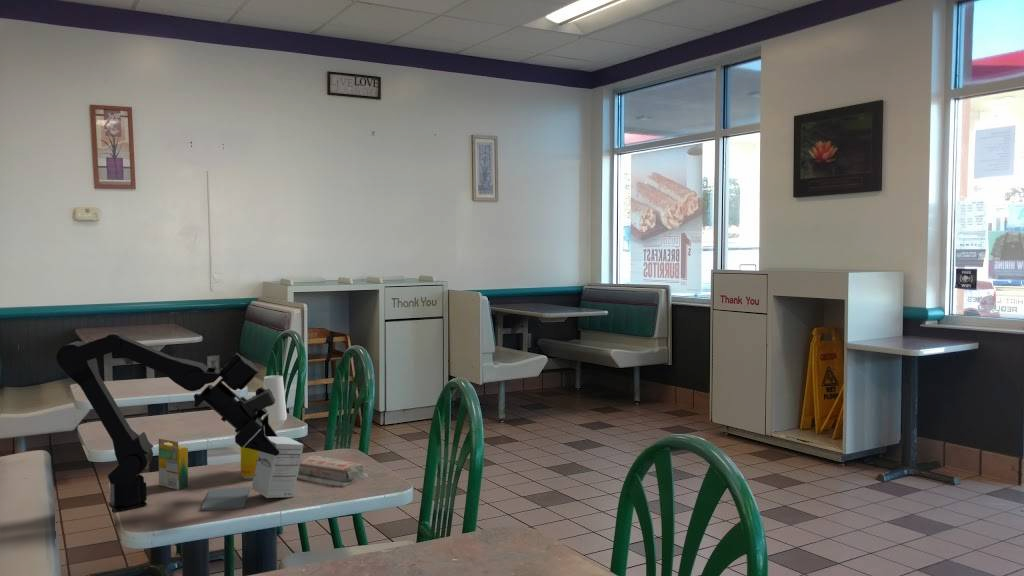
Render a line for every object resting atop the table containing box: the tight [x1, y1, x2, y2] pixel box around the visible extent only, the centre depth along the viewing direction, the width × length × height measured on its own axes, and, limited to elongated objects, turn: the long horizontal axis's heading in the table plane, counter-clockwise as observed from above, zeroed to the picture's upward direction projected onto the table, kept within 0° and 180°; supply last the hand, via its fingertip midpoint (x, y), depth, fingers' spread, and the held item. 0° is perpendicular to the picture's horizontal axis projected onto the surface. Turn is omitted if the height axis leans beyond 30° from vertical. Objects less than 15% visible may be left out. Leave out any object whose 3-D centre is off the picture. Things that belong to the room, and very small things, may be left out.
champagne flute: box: [262, 374, 288, 434], centre depth 209 cm, size 7×7×24 cm
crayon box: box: [158, 438, 189, 491], centre depth 192 cm, size 7×3×12 cm, turn 61°
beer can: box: [240, 445, 259, 480], centre depth 200 cm, size 6×6×15 cm
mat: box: [200, 486, 251, 512], centre depth 182 cm, size 9×14×1 cm, turn 13°
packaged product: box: [297, 455, 369, 488], centre depth 201 cm, size 18×5×10 cm
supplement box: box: [251, 436, 304, 499], centre depth 185 cm, size 7×7×13 cm
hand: (279, 449), depth 184 cm, fingers closed on supplement box, 9 cm apart
